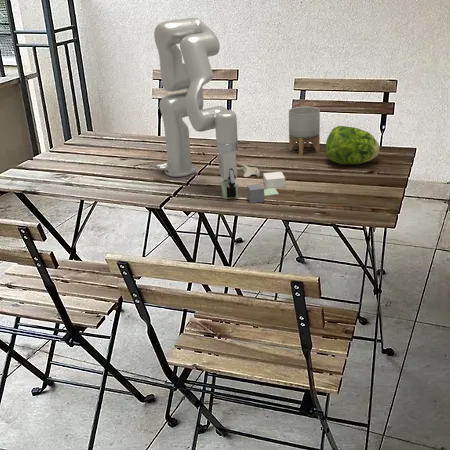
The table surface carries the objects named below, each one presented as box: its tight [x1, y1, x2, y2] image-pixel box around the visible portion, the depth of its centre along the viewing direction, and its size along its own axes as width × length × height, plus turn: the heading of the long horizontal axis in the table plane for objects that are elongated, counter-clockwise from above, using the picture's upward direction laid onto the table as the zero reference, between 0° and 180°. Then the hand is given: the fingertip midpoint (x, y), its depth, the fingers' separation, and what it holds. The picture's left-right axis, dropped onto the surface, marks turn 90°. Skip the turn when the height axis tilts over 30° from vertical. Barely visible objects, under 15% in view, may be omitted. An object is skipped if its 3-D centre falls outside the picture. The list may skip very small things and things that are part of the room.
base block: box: [262, 171, 286, 189], centre depth 236 cm, size 7×7×4 cm
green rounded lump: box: [325, 125, 381, 166], centre depth 251 cm, size 16×21×15 cm
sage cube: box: [220, 180, 239, 200], centre depth 228 cm, size 5×5×5 cm
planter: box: [288, 106, 321, 156], centre depth 267 cm, size 13×13×18 cm
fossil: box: [239, 163, 261, 178], centre depth 249 cm, size 7×11×3 cm, turn 8°
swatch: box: [264, 188, 280, 198], centre depth 229 cm, size 6×6×1 cm
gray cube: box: [246, 183, 266, 204], centre depth 223 cm, size 5×5×5 cm
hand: (230, 193), depth 229 cm, fingers closed on sage cube, 5 cm apart
